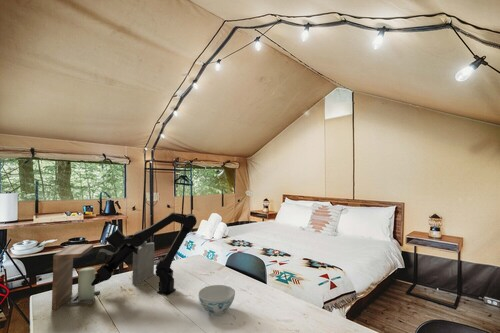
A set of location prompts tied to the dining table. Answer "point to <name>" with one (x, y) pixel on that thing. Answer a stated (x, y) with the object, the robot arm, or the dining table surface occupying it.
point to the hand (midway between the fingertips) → (95, 280)
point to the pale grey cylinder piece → (86, 284)
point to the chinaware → (216, 298)
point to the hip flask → (143, 263)
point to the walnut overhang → (67, 275)
